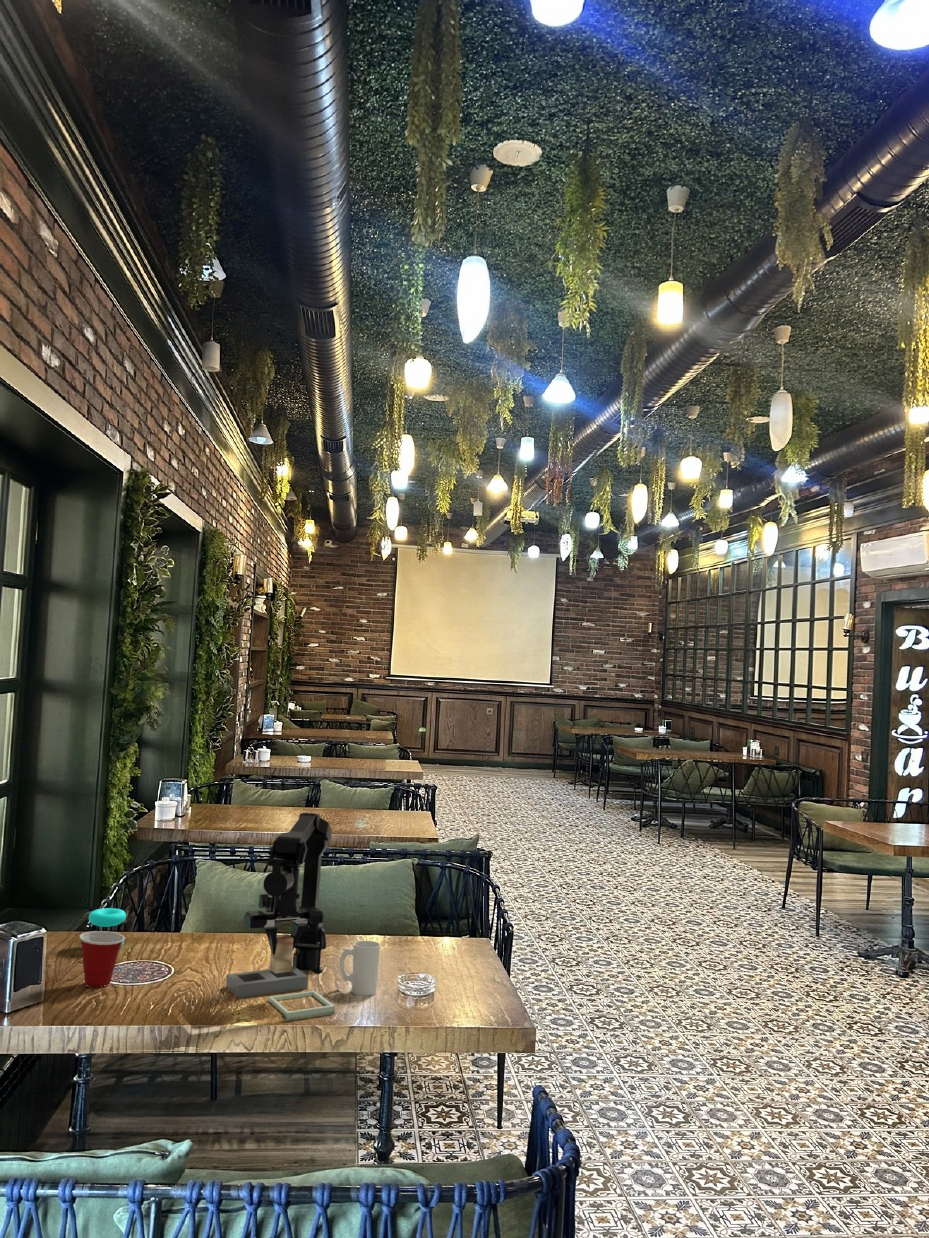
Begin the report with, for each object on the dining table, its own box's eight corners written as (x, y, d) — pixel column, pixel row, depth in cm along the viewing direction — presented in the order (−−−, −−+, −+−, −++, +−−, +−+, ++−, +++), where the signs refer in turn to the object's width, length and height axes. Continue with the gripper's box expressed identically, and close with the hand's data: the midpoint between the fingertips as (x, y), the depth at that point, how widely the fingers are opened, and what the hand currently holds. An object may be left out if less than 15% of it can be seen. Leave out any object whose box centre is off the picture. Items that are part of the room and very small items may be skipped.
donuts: (133, 908, 269) (114, 917, 259) (130, 944, 268) (111, 953, 259) (101, 905, 271) (81, 913, 261) (98, 940, 270) (78, 950, 260)
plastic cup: (119, 990, 229) (123, 940, 230) (72, 991, 226) (76, 941, 227) (123, 976, 240) (127, 929, 241) (78, 977, 237) (82, 929, 238)
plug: (285, 967, 230) (287, 933, 231) (291, 971, 227) (293, 937, 227) (269, 968, 228) (272, 935, 229) (275, 973, 225) (277, 939, 225)
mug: (376, 987, 242) (379, 940, 243) (377, 996, 235) (380, 948, 236) (337, 987, 241) (340, 939, 242) (337, 995, 234) (340, 947, 235)
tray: (314, 997, 232) (314, 990, 232) (334, 1013, 222) (334, 1005, 222) (267, 1004, 225) (268, 996, 226) (286, 1020, 215) (287, 1012, 215)
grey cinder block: (293, 981, 243) (294, 966, 243) (306, 992, 236) (307, 976, 236) (225, 990, 234) (226, 974, 234) (237, 1001, 226) (238, 984, 226)
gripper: (310, 879, 241) (305, 941, 239) (239, 883, 231) (234, 948, 230) (326, 888, 231) (322, 953, 230) (253, 892, 222) (248, 960, 220)
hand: (281, 953), depth 228 cm, fingers closed on plug, 4 cm apart
